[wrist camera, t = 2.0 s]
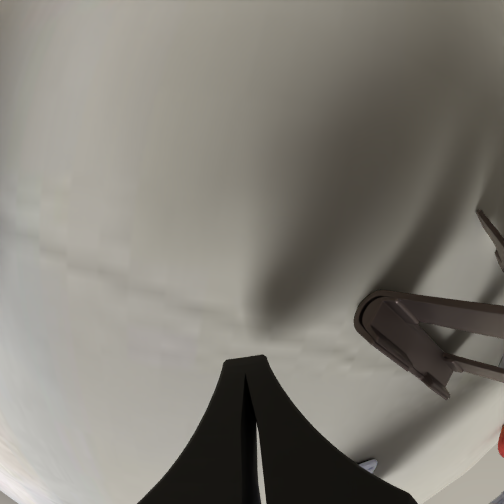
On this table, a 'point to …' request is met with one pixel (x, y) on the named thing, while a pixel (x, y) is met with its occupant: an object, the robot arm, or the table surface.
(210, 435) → the robot arm
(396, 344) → the portable electronic device stand
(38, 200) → the table surface
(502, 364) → the charging dock
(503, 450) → the onion
